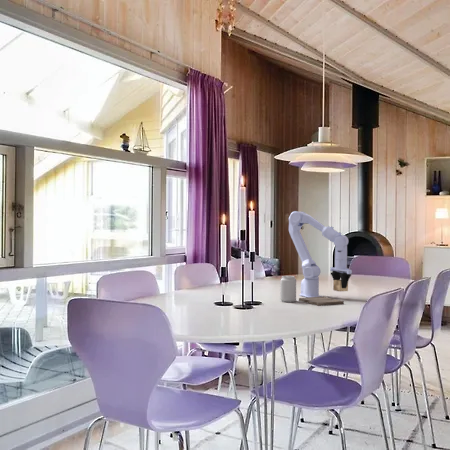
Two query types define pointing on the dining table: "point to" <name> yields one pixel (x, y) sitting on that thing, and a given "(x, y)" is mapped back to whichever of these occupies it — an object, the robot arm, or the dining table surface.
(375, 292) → the dining table surface
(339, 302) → the serving board
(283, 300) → the can
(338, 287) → the oak block
